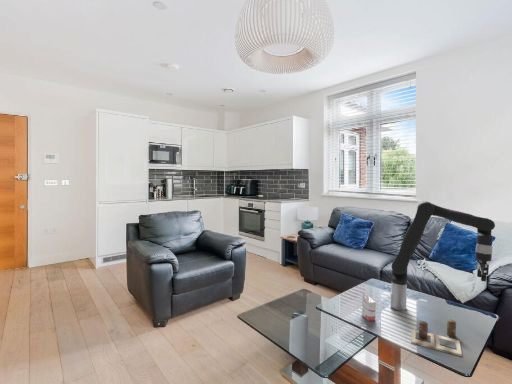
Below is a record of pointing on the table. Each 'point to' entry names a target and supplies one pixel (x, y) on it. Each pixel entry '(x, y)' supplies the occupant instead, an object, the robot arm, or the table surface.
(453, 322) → the walnut pin
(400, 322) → the table surface
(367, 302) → the ink cartridge box
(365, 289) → the table surface
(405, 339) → the table surface
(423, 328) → the pin
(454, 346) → the board
